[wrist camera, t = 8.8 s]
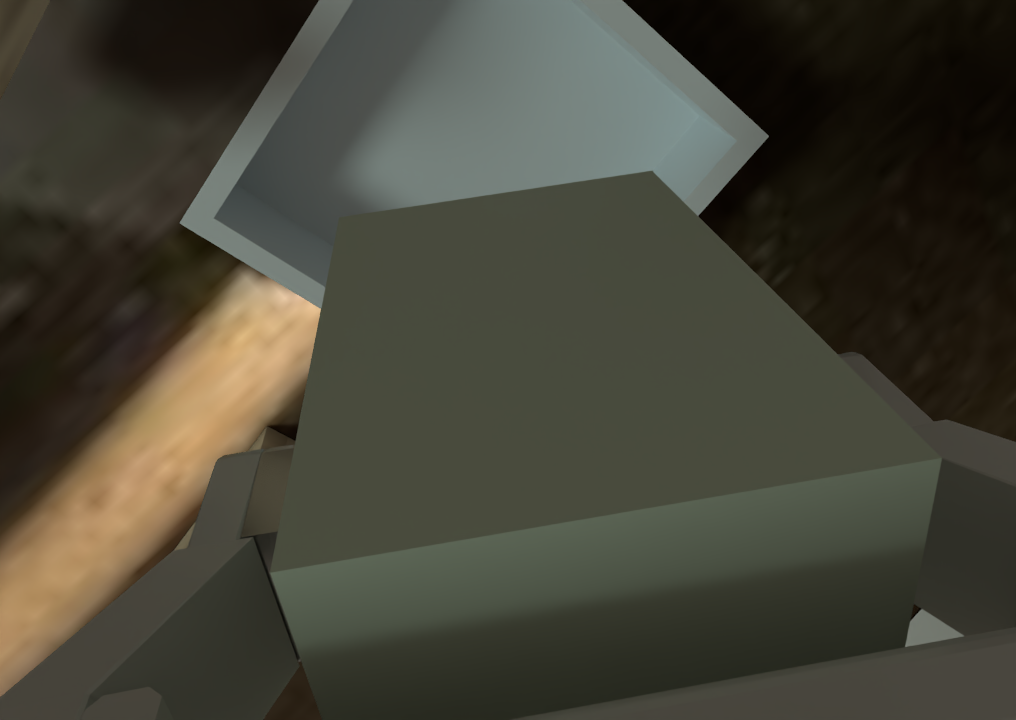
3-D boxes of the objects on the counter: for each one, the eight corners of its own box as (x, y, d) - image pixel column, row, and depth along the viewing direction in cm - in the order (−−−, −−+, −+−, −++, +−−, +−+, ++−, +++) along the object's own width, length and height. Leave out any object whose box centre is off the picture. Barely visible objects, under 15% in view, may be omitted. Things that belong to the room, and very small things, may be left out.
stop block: (651, 170, 11) (941, 458, 5) (658, 427, 14) (868, 838, 8) (339, 217, 11) (269, 571, 5) (396, 471, 13) (397, 929, 7)
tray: (721, 108, 24) (768, 136, 21) (500, 367, 27) (512, 424, 24) (426, -162, 20) (430, -178, 16) (209, 182, 23) (179, 223, 20)
